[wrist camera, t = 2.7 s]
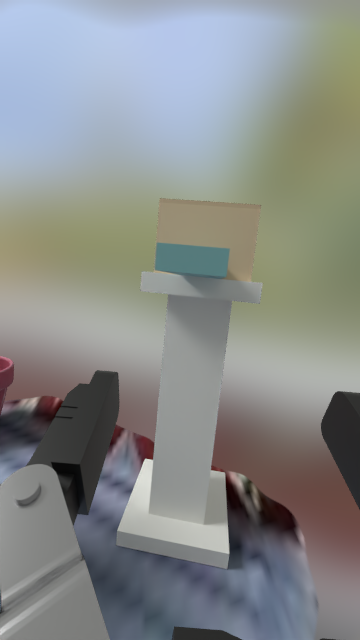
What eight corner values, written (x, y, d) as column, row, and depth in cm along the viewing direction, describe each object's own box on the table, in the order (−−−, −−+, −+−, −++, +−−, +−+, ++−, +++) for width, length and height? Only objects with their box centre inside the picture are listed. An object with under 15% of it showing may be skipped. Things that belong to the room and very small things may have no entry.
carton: (283, 282, 14) (306, 130, 13) (103, 264, 15) (110, 123, 14) (241, 281, 37) (248, 226, 36) (169, 275, 38) (174, 220, 37)
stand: (227, 569, 30) (268, 283, 25) (116, 545, 32) (135, 270, 27) (223, 483, 43) (250, 283, 38) (144, 469, 44) (160, 274, 40)
